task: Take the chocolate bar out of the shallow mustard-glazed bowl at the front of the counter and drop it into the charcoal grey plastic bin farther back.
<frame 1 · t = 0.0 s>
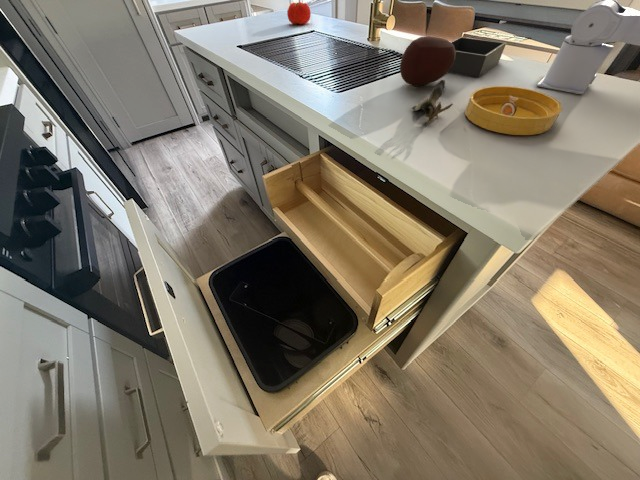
eagle figurine: (427, 117, 58), on the counter
bowl: (505, 118, 56), on the counter
bin: (465, 66, 78), on the counter
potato: (420, 86, 70), on the counter
tomato: (299, 24, 128), on the counter
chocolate: (506, 117, 56), resting on bowl
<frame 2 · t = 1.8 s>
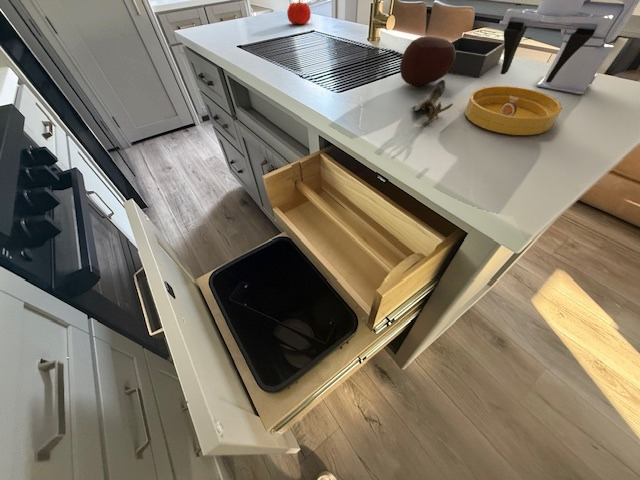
hand: (525, 76, 50), 8 cm above the counter, tool pointing down, fingers open, 7 cm apart
nothing on the counter moved.
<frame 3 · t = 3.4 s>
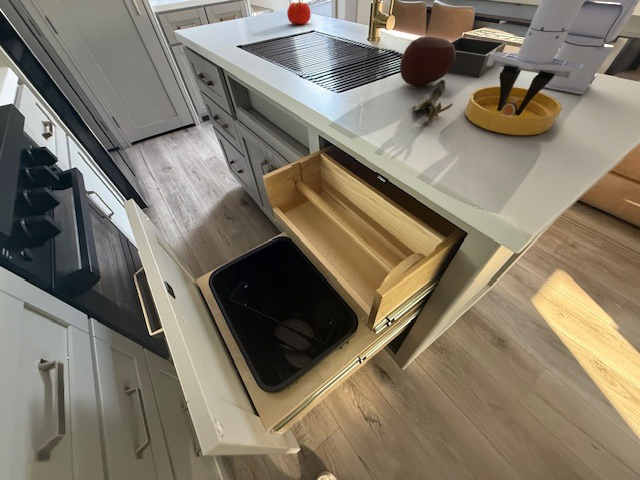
hand: (508, 111, 55), 1 cm above the counter, tool pointing down, fingers closed on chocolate, 3 cm apart
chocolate: (506, 117, 55), resting on bowl, touching gripper
everything else where it was.
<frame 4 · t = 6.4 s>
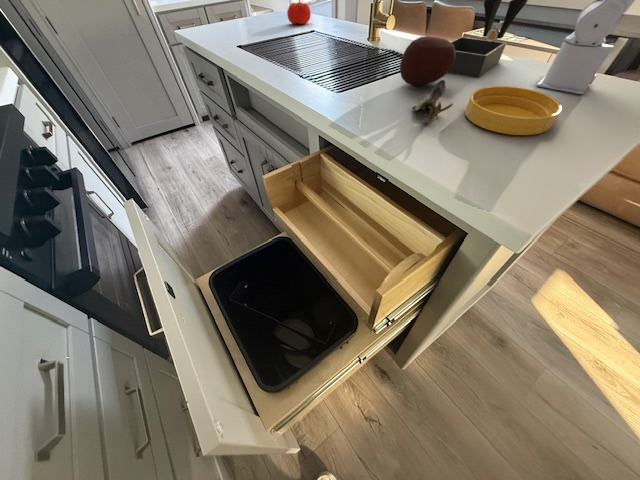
hand: (492, 36, 67), 8 cm above the counter, tool pointing down, fingers closed on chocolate, 3 cm apart
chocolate: (491, 42, 68), point 7 cm above the counter, touching gripper
everything else where it was.
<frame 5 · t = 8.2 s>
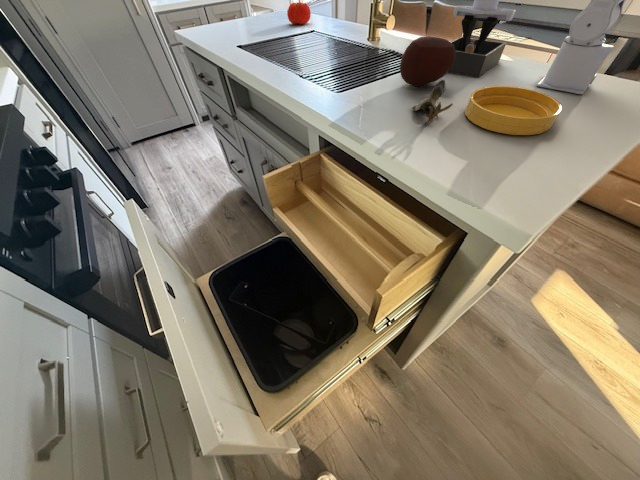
hand: (470, 50, 75), 4 cm above the counter, tool pointing down, fingers closed on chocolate, 3 cm apart
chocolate: (469, 55, 76), point 3 cm above the counter, touching gripper
everything else where it was.
when the fingers open (1 cm above the counter, at t = 9.2 s): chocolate stays where it is, resting on bin.
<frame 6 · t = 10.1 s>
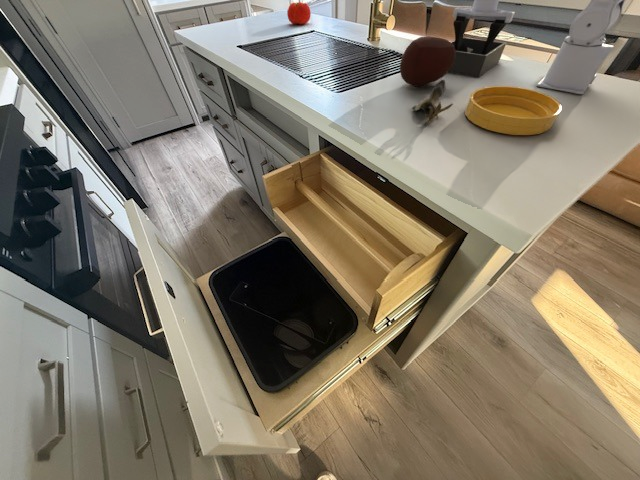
hand: (470, 52, 76), 3 cm above the counter, tool pointing down, fingers open, 7 cm apart
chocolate: (466, 65, 78), resting on bin
everything else where it was.
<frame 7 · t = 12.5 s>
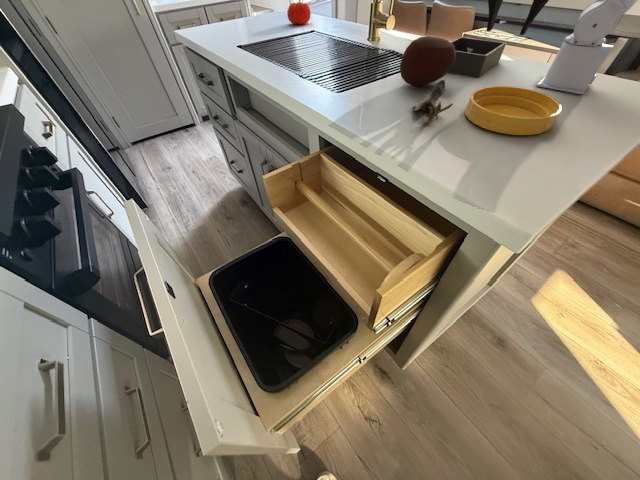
hand: (505, 32, 66), 9 cm above the counter, tool pointing down, fingers open, 7 cm apart
nothing on the counter moved.
at the end: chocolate inside the target area in the bin (0.2 cm from its centre), point 0.3 cm above the bin's base; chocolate moved 34.3 cm from its start; the gripper is holding nothing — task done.
